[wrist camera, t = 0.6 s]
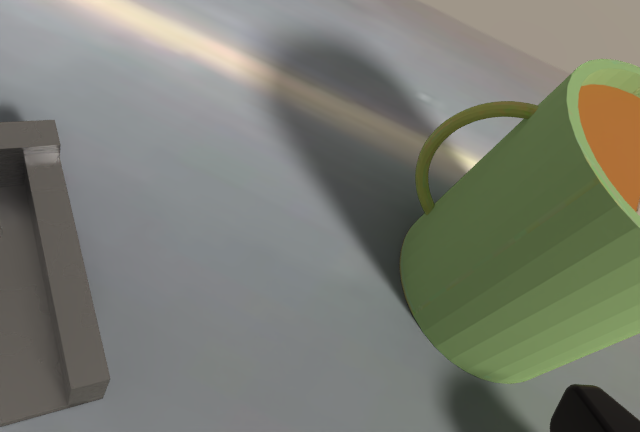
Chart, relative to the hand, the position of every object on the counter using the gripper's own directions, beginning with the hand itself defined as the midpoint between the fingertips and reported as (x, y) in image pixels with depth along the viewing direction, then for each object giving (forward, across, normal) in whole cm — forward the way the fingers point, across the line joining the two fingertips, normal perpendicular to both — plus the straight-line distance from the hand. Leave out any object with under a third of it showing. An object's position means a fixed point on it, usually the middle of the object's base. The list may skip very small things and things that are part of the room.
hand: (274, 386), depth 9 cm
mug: (+19, -11, +11) cm, 24 cm away
